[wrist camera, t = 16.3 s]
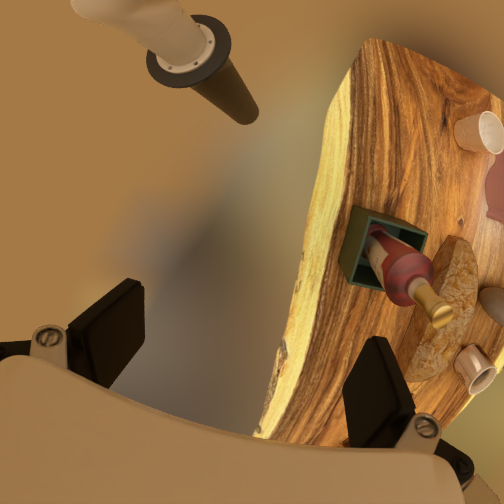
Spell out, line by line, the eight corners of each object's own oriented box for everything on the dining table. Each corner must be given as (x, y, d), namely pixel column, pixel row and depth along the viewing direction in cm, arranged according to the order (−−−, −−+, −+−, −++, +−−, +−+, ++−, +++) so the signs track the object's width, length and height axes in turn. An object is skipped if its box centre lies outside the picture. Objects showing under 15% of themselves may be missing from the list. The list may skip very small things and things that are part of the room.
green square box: (353, 205, 46) (368, 215, 37) (404, 220, 46) (428, 233, 36) (337, 261, 50) (348, 283, 40) (387, 272, 49) (406, 296, 39)
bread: (422, 371, 55) (434, 396, 46) (388, 372, 57) (398, 400, 47) (472, 240, 44) (498, 254, 35) (436, 232, 45) (461, 246, 36)
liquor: (349, 229, 47) (407, 300, 21) (384, 216, 46) (469, 271, 19) (359, 264, 49) (414, 357, 23) (393, 251, 47) (469, 330, 21)
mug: (447, 374, 55) (461, 399, 44) (460, 340, 51) (478, 365, 41) (473, 366, 53) (488, 389, 43) (486, 333, 50) (505, 356, 39)
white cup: (475, 120, 36) (503, 116, 27) (478, 156, 38) (506, 157, 29) (449, 113, 37) (476, 106, 28) (452, 150, 40) (480, 150, 30)
